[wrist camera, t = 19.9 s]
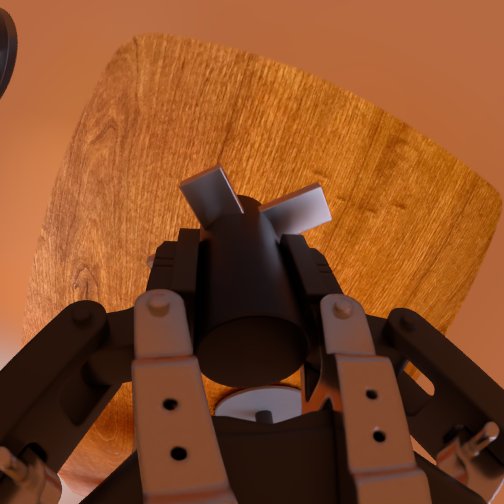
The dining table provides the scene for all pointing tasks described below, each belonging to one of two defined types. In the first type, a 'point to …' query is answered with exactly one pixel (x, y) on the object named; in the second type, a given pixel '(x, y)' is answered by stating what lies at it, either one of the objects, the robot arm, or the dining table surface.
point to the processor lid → (262, 404)
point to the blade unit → (248, 281)
